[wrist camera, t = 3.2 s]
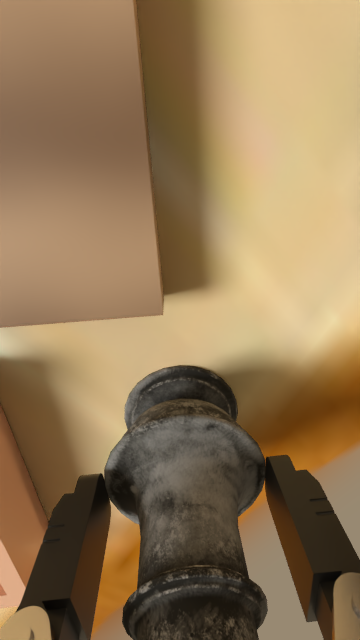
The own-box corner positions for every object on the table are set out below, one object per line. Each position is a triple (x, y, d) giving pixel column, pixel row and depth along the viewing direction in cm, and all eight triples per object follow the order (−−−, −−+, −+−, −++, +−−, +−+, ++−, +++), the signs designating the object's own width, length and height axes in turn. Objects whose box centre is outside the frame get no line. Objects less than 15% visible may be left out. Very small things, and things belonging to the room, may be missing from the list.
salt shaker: (269, 409, 14) (608, 1129, 3) (183, 477, 16) (224, 1123, 5) (178, 334, 13) (261, 1319, 2) (92, 419, 14) (-167, 1220, 3)
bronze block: (-198, -142, 8) (-357, -287, 5) (122, -161, 8) (103, -311, 5) (-33, 307, 12) (-80, 333, 10) (163, 292, 12) (163, 314, 10)
